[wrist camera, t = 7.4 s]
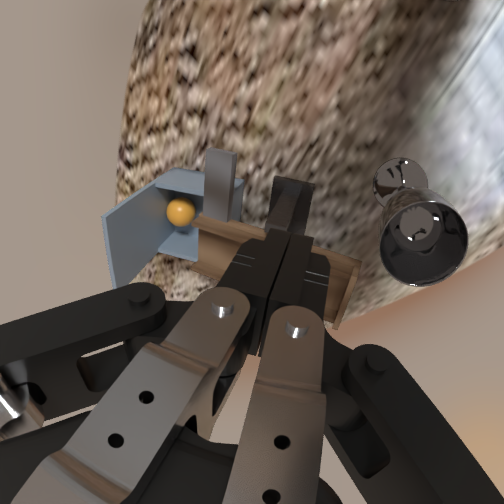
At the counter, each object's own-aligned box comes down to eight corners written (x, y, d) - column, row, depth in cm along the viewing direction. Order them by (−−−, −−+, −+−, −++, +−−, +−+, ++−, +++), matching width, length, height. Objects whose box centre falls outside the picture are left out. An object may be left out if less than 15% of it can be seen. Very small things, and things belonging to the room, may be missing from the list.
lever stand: (275, 175, 40) (251, 210, 31) (314, 184, 39) (303, 221, 30) (262, 260, 47) (239, 310, 38) (296, 269, 46) (281, 321, 37)
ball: (193, 206, 40) (198, 193, 44) (162, 203, 40) (170, 191, 44) (192, 233, 43) (197, 219, 46) (163, 230, 42) (170, 216, 46)
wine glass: (378, 221, 39) (387, 294, 27) (362, 163, 36) (369, 214, 24) (435, 208, 36) (470, 276, 24) (423, 148, 33) (464, 192, 20)
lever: (207, 146, 32) (190, 153, 30) (383, 192, 27) (381, 203, 25) (202, 261, 40) (188, 274, 38) (343, 312, 35) (337, 330, 32)
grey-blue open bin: (173, 167, 43) (101, 216, 30) (244, 179, 41) (191, 238, 28) (173, 230, 49) (114, 294, 35) (237, 246, 47) (192, 320, 34)
